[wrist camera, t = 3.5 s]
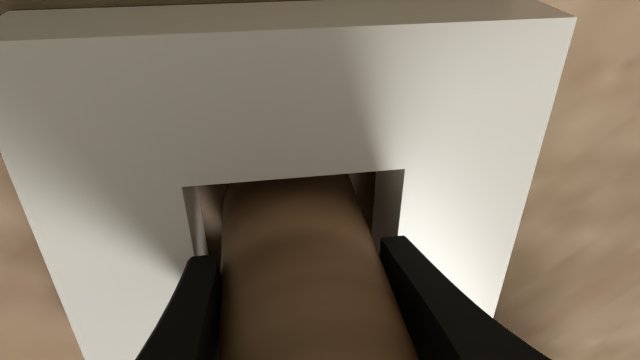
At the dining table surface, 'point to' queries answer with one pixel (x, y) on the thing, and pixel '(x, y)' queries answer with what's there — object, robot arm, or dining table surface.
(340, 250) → the walnut dowel
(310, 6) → the holder block
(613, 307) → the dining table surface
